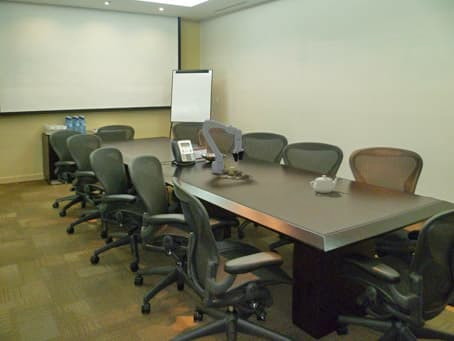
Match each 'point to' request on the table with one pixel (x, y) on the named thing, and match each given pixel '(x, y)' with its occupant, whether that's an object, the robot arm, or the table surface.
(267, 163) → the table surface
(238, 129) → the robot arm
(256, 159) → the table surface
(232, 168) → the coupler
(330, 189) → the teapot
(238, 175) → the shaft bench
